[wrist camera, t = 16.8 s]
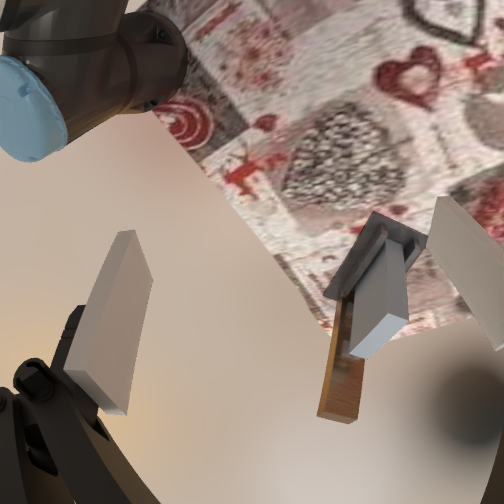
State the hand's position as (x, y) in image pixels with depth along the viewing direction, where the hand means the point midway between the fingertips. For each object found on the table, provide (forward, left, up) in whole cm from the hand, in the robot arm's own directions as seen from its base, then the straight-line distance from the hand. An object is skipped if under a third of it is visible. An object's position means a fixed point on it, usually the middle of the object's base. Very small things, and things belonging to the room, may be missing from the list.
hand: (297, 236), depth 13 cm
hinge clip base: (+16, -22, -28) cm, 39 cm away
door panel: (+16, -21, -27) cm, 38 cm away
